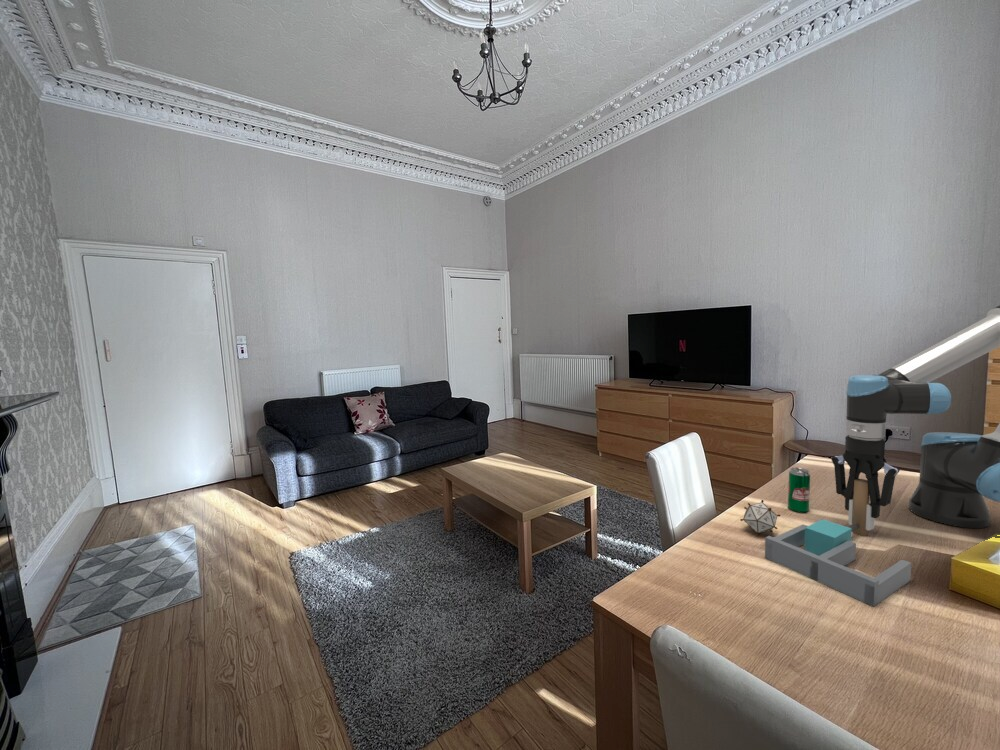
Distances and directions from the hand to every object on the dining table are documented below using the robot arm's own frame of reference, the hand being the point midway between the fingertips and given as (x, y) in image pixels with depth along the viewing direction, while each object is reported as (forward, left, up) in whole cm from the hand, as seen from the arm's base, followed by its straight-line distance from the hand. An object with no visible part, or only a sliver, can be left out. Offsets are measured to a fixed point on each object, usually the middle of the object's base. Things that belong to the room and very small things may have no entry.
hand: (861, 525), depth 107 cm
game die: (+21, -14, -2) cm, 25 cm away
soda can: (-1, -16, -2) cm, 16 cm away
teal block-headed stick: (+10, 0, -2) cm, 10 cm away
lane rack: (+24, +4, -2) cm, 24 cm away
